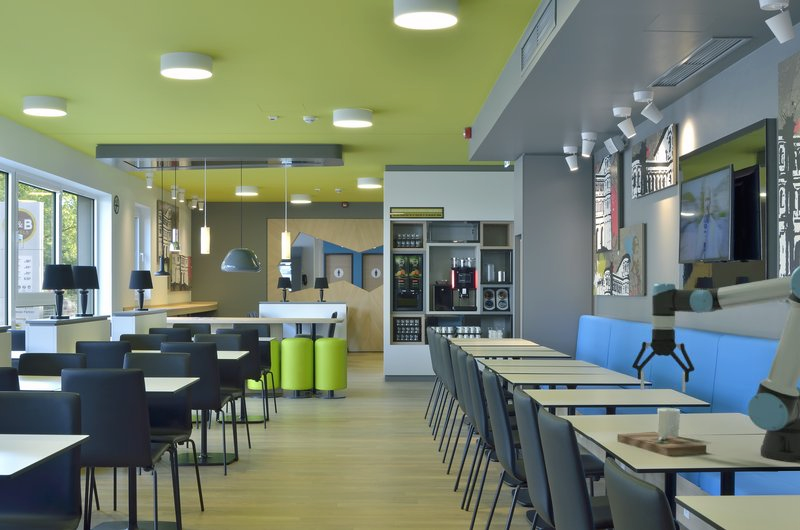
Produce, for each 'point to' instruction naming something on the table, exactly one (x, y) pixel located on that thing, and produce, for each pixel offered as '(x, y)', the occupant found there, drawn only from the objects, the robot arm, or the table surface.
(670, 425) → the white cup
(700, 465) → the table surface
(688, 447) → the wooden cutting board
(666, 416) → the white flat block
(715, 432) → the table surface
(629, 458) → the table surface
